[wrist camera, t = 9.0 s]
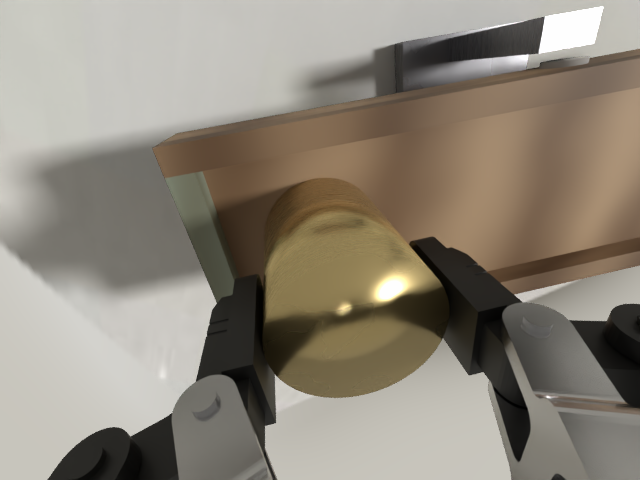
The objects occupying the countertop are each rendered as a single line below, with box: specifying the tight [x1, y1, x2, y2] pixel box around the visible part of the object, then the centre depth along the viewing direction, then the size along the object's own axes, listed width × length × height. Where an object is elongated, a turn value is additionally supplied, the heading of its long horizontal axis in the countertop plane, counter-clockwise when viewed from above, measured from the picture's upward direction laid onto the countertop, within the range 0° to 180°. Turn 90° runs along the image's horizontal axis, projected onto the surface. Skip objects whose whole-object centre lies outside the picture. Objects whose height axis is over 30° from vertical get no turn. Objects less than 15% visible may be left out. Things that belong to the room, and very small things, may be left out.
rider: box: [262, 178, 449, 398], centre depth 11 cm, size 5×5×6 cm
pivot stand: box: [395, 7, 603, 93], centre depth 18 cm, size 8×14×8 cm, turn 9°
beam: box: [152, 49, 640, 303], centre depth 14 cm, size 32×10×3 cm, turn 99°
